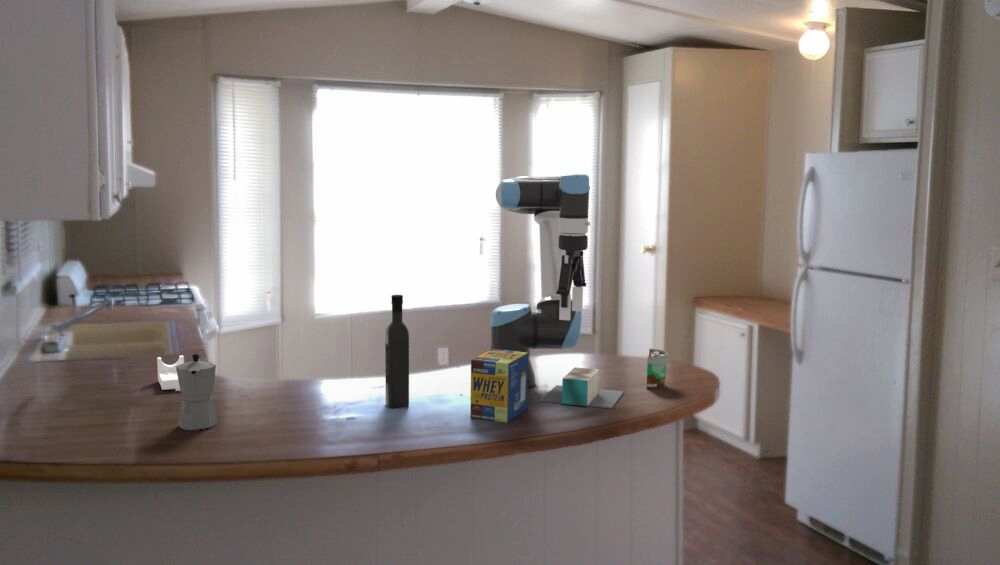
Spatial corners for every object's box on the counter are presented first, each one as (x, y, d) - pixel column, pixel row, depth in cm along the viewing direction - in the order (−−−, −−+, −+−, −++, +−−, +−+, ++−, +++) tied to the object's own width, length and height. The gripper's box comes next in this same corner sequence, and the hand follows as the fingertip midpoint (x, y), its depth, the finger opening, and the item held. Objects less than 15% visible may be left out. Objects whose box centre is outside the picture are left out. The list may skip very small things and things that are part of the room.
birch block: (562, 378, 250) (574, 367, 264) (561, 403, 251) (574, 391, 264) (587, 380, 248) (598, 369, 261) (587, 406, 249) (598, 393, 262)
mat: (540, 401, 254) (540, 400, 254) (556, 386, 271) (556, 385, 271) (611, 408, 248) (611, 407, 248) (623, 392, 265) (623, 391, 265)
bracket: (158, 382, 270) (157, 357, 269) (183, 380, 273) (182, 355, 272) (162, 393, 259) (161, 366, 258) (189, 390, 262) (188, 364, 261)
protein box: (469, 418, 238) (470, 359, 236) (492, 403, 252) (492, 348, 250) (507, 423, 234) (508, 363, 232) (528, 408, 248) (529, 351, 246)
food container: (667, 391, 267) (669, 358, 266) (646, 390, 268) (647, 356, 267) (668, 381, 279) (670, 349, 278) (648, 380, 280) (649, 348, 279)
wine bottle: (388, 408, 245) (388, 297, 241) (384, 403, 250) (384, 294, 246) (409, 407, 247) (410, 296, 243) (405, 401, 252) (405, 293, 248)
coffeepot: (215, 431, 223) (213, 359, 221) (174, 434, 221) (172, 360, 218) (220, 414, 238) (218, 345, 235) (181, 416, 236) (179, 347, 233)
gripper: (576, 239, 225) (573, 324, 228) (597, 230, 248) (595, 308, 252) (546, 237, 227) (544, 322, 230) (570, 229, 251) (568, 306, 254)
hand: (571, 315), depth 241 cm, fingers open, 13 cm apart
